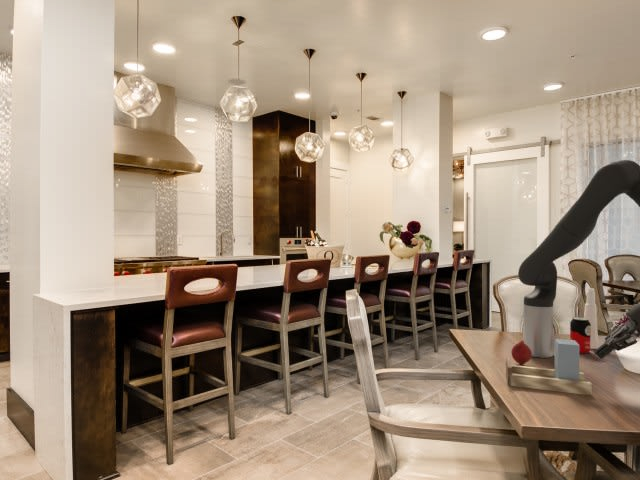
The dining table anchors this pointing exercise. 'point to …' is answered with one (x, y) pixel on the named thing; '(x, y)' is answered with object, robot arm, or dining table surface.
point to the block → (566, 359)
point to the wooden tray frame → (544, 379)
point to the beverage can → (581, 333)
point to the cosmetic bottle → (592, 317)
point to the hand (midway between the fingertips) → (597, 355)
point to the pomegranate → (521, 353)
